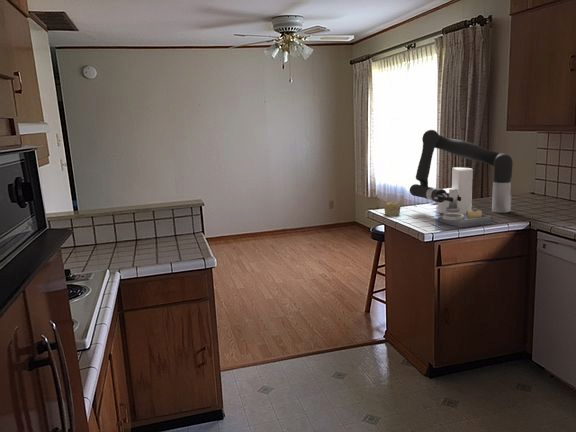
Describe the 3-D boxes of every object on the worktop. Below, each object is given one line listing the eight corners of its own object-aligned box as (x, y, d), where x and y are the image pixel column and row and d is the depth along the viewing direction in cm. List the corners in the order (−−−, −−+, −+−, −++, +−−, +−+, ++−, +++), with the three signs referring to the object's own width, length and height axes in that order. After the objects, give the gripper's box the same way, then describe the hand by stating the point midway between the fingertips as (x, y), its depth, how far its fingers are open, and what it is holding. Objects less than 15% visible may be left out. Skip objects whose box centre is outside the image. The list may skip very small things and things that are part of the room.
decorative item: (394, 222, 274) (405, 208, 272) (380, 212, 275) (391, 198, 272) (393, 219, 283) (404, 206, 281) (380, 209, 284) (390, 196, 281)
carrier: (467, 216, 263) (468, 203, 261) (491, 222, 246) (492, 208, 244) (437, 220, 256) (438, 207, 255) (460, 227, 239) (460, 212, 238)
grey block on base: (453, 209, 256) (454, 188, 254) (462, 211, 250) (463, 189, 247) (443, 210, 254) (444, 189, 251) (451, 212, 247) (452, 190, 245)
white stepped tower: (469, 208, 286) (470, 167, 280) (473, 214, 268) (475, 170, 263) (436, 208, 290) (437, 167, 285) (439, 214, 272) (439, 171, 267)
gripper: (425, 189, 260) (445, 193, 245) (447, 187, 265) (468, 191, 249) (425, 202, 262) (445, 207, 246) (446, 200, 267) (467, 205, 251)
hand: (456, 199), depth 248 cm, fingers closed on grey block on base, 4 cm apart
